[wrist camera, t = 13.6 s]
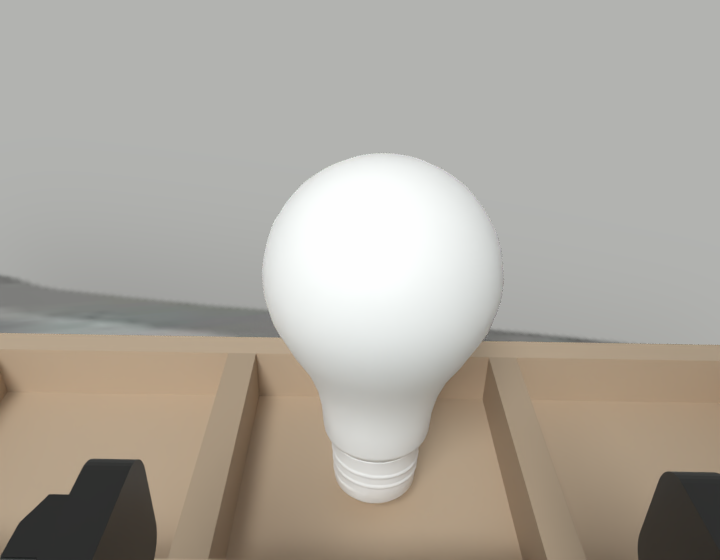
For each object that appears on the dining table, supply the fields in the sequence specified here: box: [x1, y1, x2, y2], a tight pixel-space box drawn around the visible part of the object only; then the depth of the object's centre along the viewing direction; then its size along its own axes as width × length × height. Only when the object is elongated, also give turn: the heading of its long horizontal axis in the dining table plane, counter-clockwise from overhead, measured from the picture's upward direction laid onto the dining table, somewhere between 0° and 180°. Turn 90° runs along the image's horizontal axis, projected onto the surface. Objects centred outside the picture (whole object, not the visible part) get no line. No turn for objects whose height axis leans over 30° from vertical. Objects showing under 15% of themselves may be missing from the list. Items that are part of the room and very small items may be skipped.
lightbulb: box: [262, 153, 504, 503], centre depth 18 cm, size 6×6×11 cm
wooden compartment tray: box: [0, 333, 720, 560], centre depth 20 cm, size 30×10×3 cm, turn 90°
